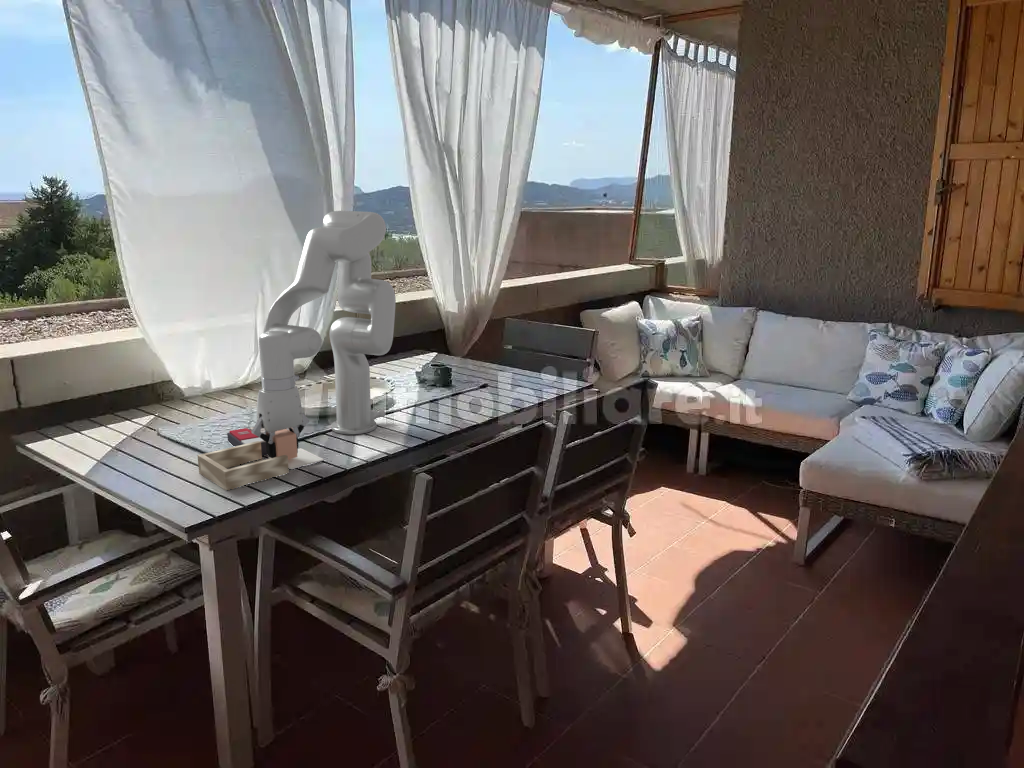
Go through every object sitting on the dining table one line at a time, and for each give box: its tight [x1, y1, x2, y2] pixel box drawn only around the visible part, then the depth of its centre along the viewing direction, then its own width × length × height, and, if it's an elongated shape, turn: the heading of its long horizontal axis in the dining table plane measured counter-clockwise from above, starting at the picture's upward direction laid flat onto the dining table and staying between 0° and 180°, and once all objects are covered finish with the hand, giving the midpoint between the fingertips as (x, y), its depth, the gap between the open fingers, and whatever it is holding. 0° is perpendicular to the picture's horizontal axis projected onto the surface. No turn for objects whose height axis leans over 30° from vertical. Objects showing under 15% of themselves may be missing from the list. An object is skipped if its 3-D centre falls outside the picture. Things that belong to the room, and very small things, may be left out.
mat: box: [267, 447, 325, 470], centre depth 183 cm, size 9×11×1 cm
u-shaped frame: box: [197, 441, 290, 491], centre depth 173 cm, size 15×14×4 cm
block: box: [274, 429, 297, 459], centre depth 179 cm, size 5×5×6 cm
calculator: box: [226, 426, 267, 456], centre depth 192 cm, size 11×4×15 cm
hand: (282, 453), depth 180 cm, fingers closed on block, 5 cm apart
